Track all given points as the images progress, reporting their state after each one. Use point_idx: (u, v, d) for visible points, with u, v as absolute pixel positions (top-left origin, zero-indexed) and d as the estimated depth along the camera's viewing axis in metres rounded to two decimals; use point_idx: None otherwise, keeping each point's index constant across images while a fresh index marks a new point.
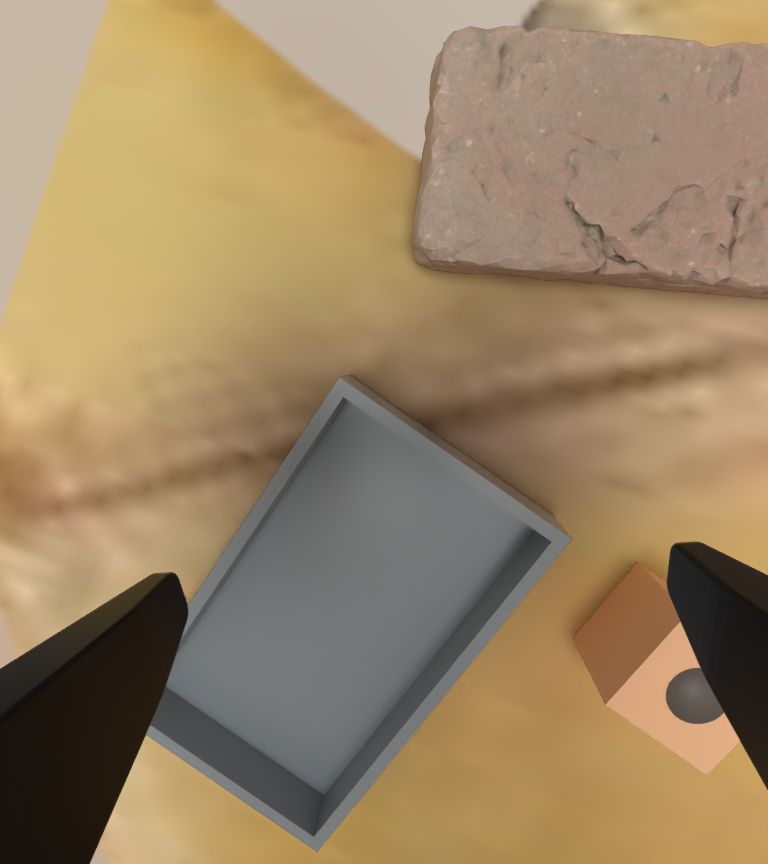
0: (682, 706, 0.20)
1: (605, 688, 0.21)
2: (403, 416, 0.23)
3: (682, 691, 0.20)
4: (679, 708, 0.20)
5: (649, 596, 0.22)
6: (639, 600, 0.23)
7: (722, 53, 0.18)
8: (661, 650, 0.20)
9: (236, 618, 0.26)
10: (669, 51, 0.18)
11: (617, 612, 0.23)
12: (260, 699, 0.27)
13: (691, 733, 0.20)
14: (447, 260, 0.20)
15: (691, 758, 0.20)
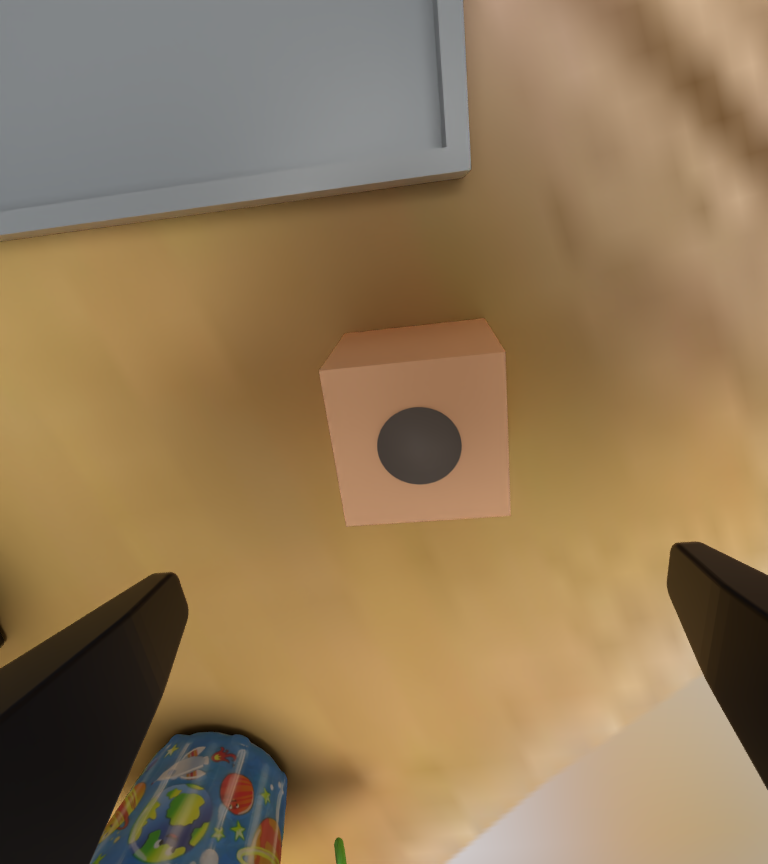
0: (393, 443, 0.14)
1: (334, 363, 0.14)
2: None
3: (409, 429, 0.14)
4: (388, 442, 0.14)
5: (470, 335, 0.16)
6: (455, 333, 0.16)
7: None
8: (435, 366, 0.14)
9: None
10: None
11: (418, 333, 0.17)
12: None
13: (373, 477, 0.15)
14: None
15: (348, 500, 0.15)
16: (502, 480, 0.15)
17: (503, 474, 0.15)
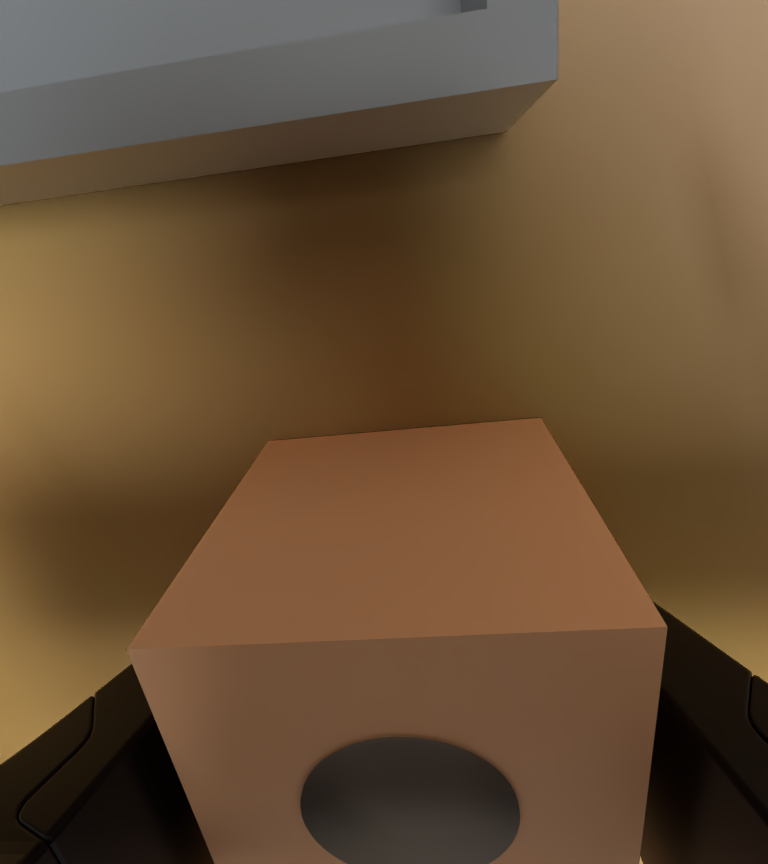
0: (343, 805, 0.06)
1: (187, 601, 0.05)
2: None
3: (383, 778, 0.05)
4: (330, 803, 0.06)
5: (527, 491, 0.07)
6: (490, 480, 0.07)
7: None
8: (453, 652, 0.05)
9: None
10: None
11: (409, 466, 0.08)
12: None
13: (297, 858, 0.06)
14: None
15: None
16: None
17: None
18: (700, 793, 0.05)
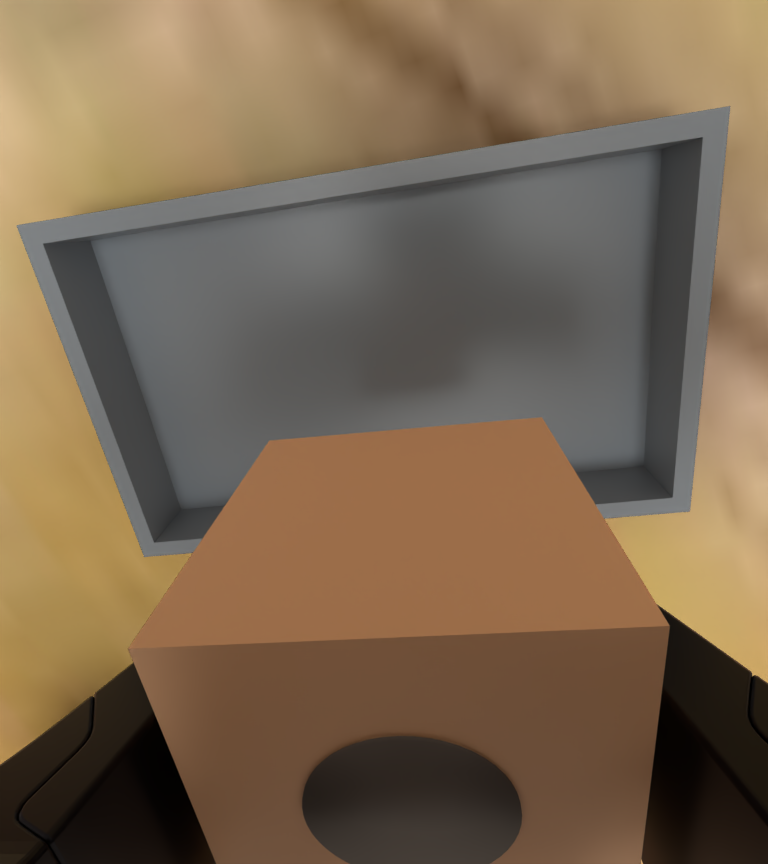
0: (345, 804, 0.06)
1: (189, 600, 0.05)
2: None
3: (384, 779, 0.05)
4: (332, 802, 0.06)
5: (529, 490, 0.07)
6: (492, 479, 0.07)
7: None
8: (455, 652, 0.05)
9: (259, 263, 0.17)
10: None
11: (410, 466, 0.08)
12: (201, 371, 0.19)
13: (299, 857, 0.06)
14: None
15: None
16: None
17: None
18: (700, 793, 0.05)
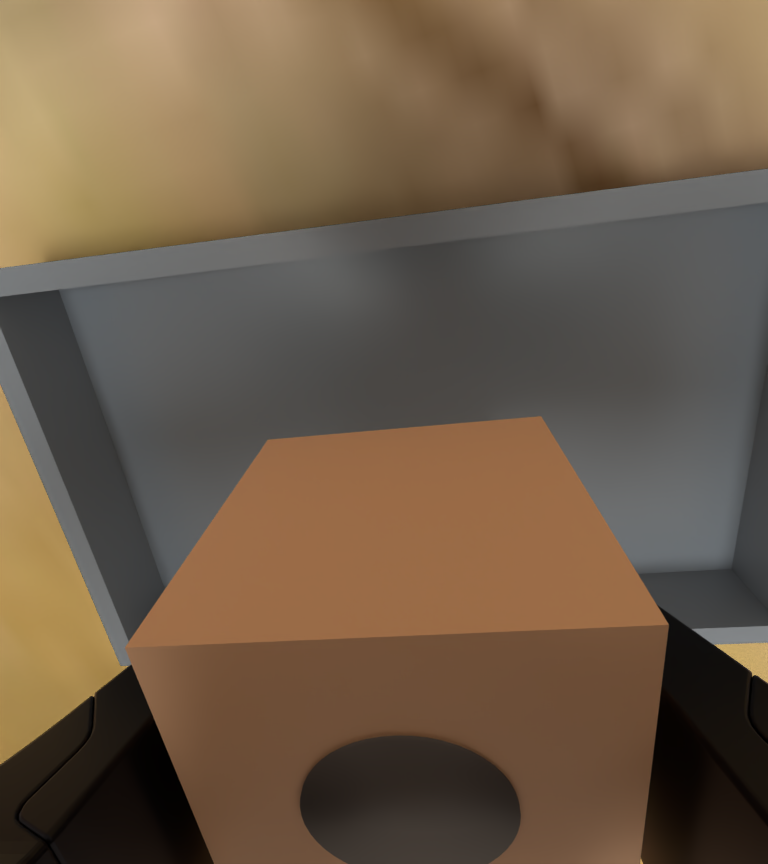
0: (343, 804, 0.06)
1: (186, 599, 0.05)
2: None
3: (383, 778, 0.05)
4: (330, 802, 0.06)
5: (528, 489, 0.07)
6: (491, 478, 0.07)
7: None
8: (455, 650, 0.05)
9: (269, 319, 0.14)
10: None
11: (409, 465, 0.08)
12: (195, 443, 0.15)
13: (297, 857, 0.06)
14: None
15: None
16: None
17: None
18: (700, 793, 0.05)
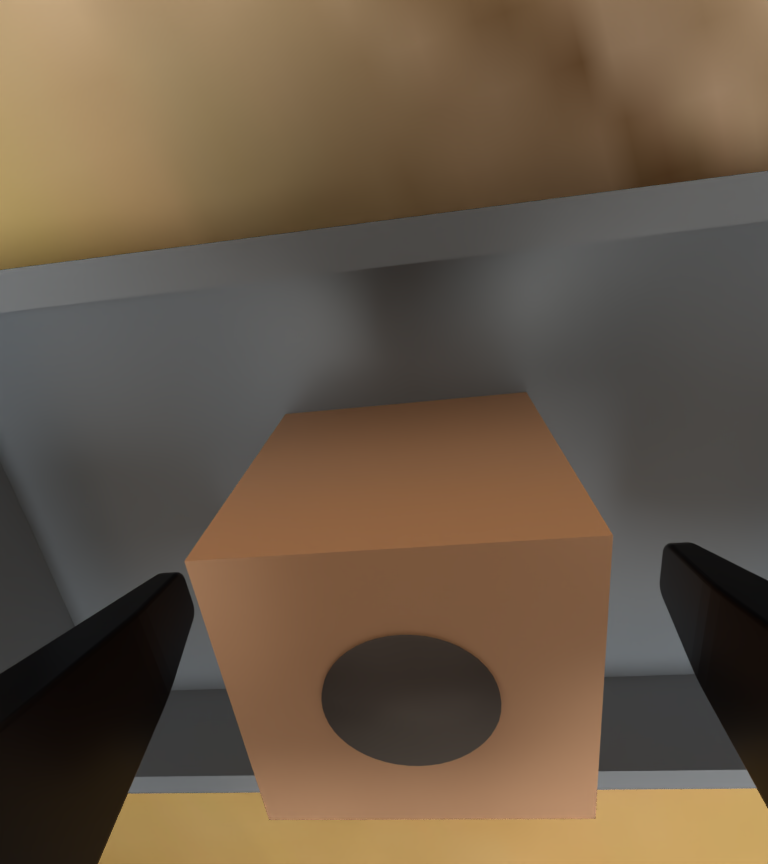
0: (356, 697, 0.07)
1: (229, 529, 0.07)
2: None
3: (389, 672, 0.07)
4: (346, 695, 0.07)
5: (510, 447, 0.08)
6: (480, 440, 0.08)
7: None
8: (446, 560, 0.06)
9: (217, 356, 0.10)
10: None
11: (410, 431, 0.09)
12: (127, 512, 0.12)
13: (318, 748, 0.07)
14: None
15: (270, 781, 0.08)
16: (583, 763, 0.07)
17: (586, 755, 0.07)
18: None
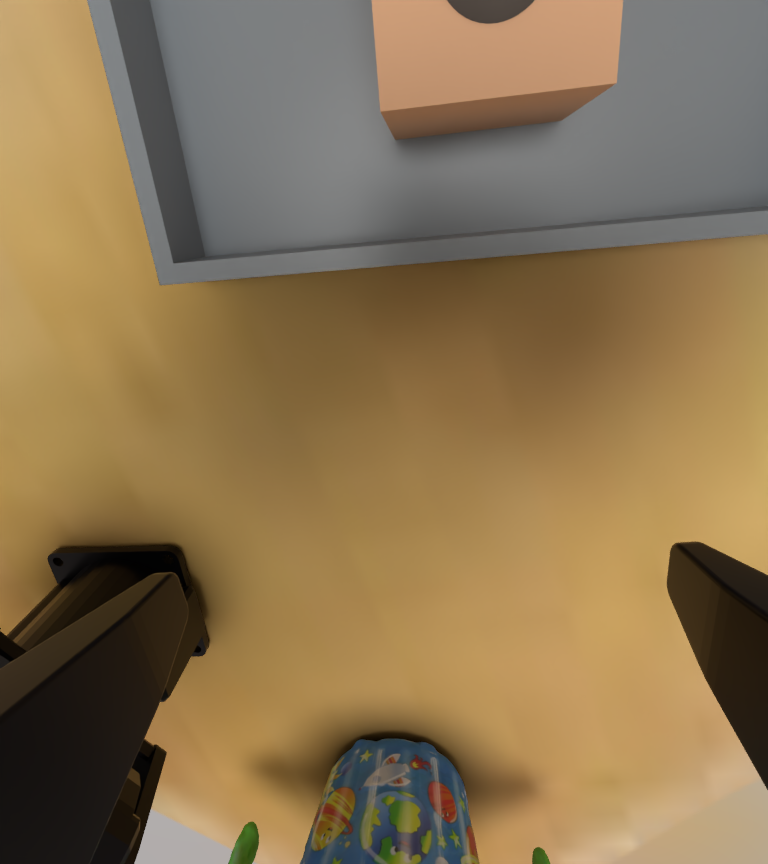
0: None
1: None
2: None
3: None
4: None
5: None
6: None
7: None
8: None
9: None
10: None
11: None
12: (244, 44, 0.15)
13: (424, 13, 0.10)
14: None
15: (386, 60, 0.11)
16: (611, 13, 0.10)
17: (614, 0, 0.10)
18: None
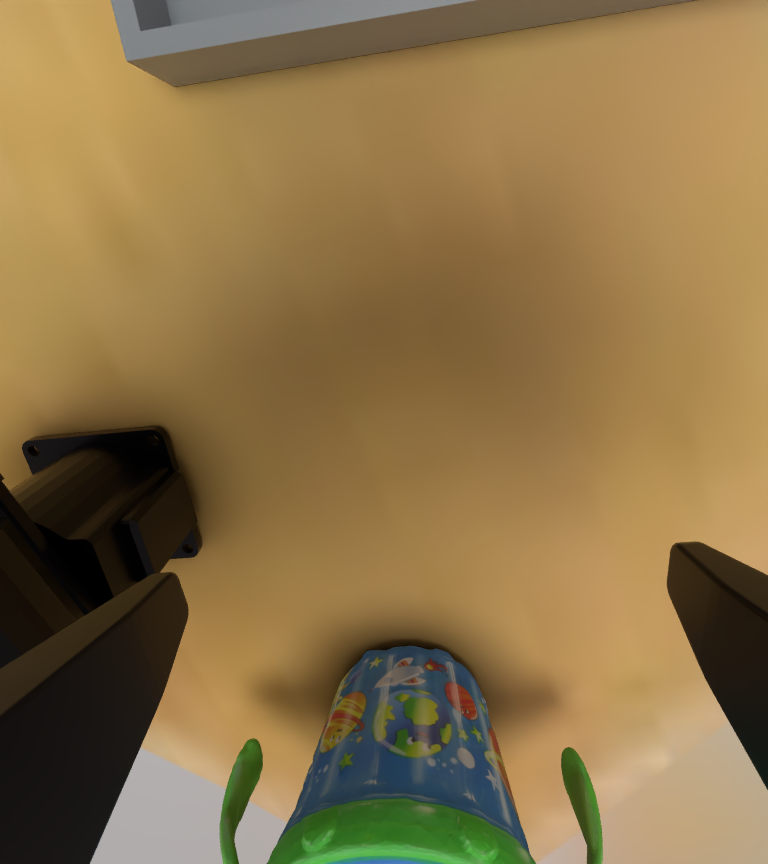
0: None
1: None
2: None
3: None
4: None
5: None
6: None
7: None
8: None
9: None
10: None
11: None
12: None
13: None
14: None
15: None
16: None
17: None
18: None
